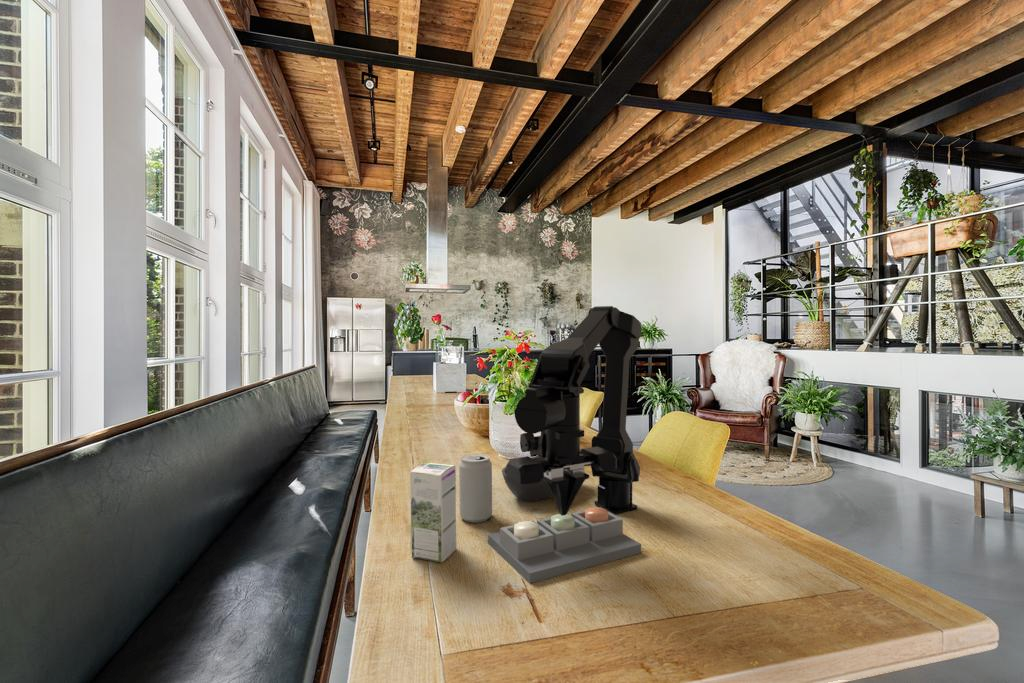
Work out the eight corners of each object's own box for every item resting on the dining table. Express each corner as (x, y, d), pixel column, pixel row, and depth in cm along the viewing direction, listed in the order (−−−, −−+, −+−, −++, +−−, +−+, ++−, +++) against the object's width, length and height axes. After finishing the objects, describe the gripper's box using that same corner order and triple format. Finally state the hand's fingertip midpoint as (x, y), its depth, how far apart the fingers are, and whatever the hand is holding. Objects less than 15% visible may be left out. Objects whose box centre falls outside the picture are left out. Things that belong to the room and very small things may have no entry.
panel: (587, 521, 95) (587, 499, 95) (641, 553, 82) (641, 527, 82) (488, 543, 86) (487, 519, 85) (529, 583, 72) (529, 555, 72)
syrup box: (457, 548, 84) (457, 463, 83) (441, 564, 78) (440, 473, 78) (427, 543, 85) (427, 460, 85) (409, 559, 80) (408, 470, 79)
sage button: (566, 530, 86) (566, 512, 86) (579, 539, 83) (579, 520, 83) (546, 535, 84) (546, 516, 84) (559, 544, 81) (559, 524, 81)
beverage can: (487, 525, 93) (487, 462, 93) (455, 522, 94) (454, 460, 94) (495, 512, 99) (495, 453, 99) (464, 510, 101) (464, 452, 100)
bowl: (592, 486, 115) (592, 460, 115) (528, 512, 100) (528, 482, 99) (552, 475, 124) (552, 451, 124) (487, 498, 108) (487, 469, 108)
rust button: (598, 523, 89) (598, 505, 89) (612, 531, 86) (612, 513, 86) (580, 527, 88) (580, 509, 87) (593, 535, 84) (594, 517, 84)
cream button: (531, 538, 83) (531, 519, 83) (543, 548, 80) (543, 528, 79) (509, 543, 81) (509, 524, 81) (521, 553, 78) (521, 533, 78)
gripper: (581, 410, 94) (581, 491, 95) (492, 419, 86) (492, 508, 86) (618, 420, 84) (618, 511, 85) (521, 431, 76) (522, 532, 76)
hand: (562, 514), depth 83 cm, fingers closed
